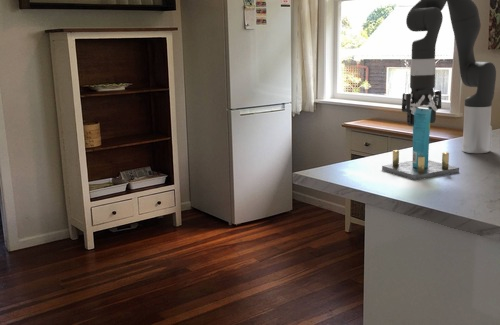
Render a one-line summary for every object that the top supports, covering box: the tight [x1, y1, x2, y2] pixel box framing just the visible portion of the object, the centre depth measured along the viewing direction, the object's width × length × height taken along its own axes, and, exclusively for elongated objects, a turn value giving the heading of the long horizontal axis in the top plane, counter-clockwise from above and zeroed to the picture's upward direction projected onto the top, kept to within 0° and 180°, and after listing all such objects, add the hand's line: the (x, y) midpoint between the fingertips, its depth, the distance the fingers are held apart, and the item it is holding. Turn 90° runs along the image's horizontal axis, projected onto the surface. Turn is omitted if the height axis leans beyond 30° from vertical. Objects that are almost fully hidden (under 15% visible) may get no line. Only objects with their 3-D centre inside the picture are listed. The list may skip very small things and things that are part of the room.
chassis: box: [381, 149, 460, 181], centre depth 176 cm, size 18×16×6 cm
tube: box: [412, 107, 432, 168], centre depth 174 cm, size 7×5×19 cm, turn 37°
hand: (421, 124), depth 173 cm, fingers open, 8 cm apart
